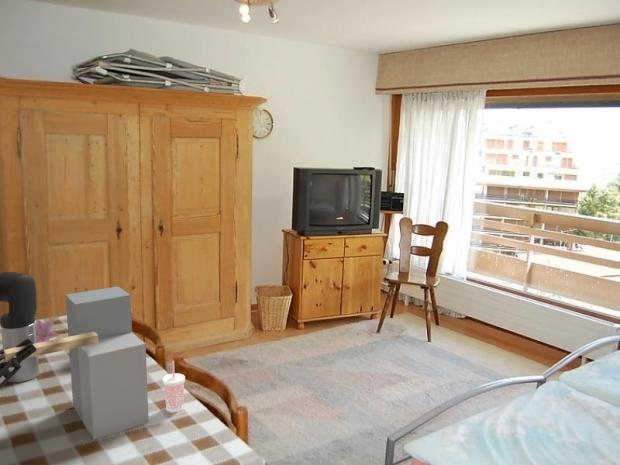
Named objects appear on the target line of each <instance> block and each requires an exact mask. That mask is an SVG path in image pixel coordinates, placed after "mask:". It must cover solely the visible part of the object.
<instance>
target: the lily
mask: <svg viewBox="0 0 620 465" xmlns="http://www.w3.org/2000/svg"><path fill="white" fill-rule="evenodd" d="M54 322H55V317H51V318H50V319H48V320H46V321H45V322H42V321H41V319H39V318H37V319H36V320H35V330H36V342H37V343H40V342H45V341H50V339H51V340H52V339H53V338H56V337H58V336H59V333H57V332H56V331H54V330H52V327H53V325H54Z"/></svg>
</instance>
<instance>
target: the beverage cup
mask: <svg viewBox="0 0 620 465" xmlns="http://www.w3.org/2000/svg"><path fill="white" fill-rule="evenodd" d="M185 382H186V376H185V375H184V374H182V373H177V372H175V360H172V373H169V374H166V375H164V376H163V377H162V384H163V390H164V391H163V392H164V397H165V398H164V399H165V408H166V411H167V412H168V411H169V412H168V413H177V412H180V410H181V411H183V408H184V400H185V398H184V396H185V393H184V391H185Z"/></svg>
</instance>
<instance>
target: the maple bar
mask: <svg viewBox="0 0 620 465" xmlns="http://www.w3.org/2000/svg"><path fill="white" fill-rule="evenodd" d="M96 343H98V335H97V334H96V333H95V332H90V333H85V334H80V335H75V336H70V337H68V336H66V337H61V338H56V339H51V340H50V339H49V341H45V342H40V343H35V344H33V345H34V346H35V348H36V351H35V352H34V353H33V354H31V355H30V356H29V357H27V358H30V357H35V356H38V357H39V356H45V355H49V354H53V353H58V352H63V351H67V350H68V351H69V349H72V348H77V347H82V346H87V345H91V344H96ZM25 346H26V345H25ZM25 346H20V347H15V348H10V349H5V350H4V355H5V359H6V360H7V359H8V358H10V357H11V356H13V355H14V354H16V353H17V352H18V351H20V350H21V349H22V348H24V347H25ZM16 355H17V354H16Z"/></svg>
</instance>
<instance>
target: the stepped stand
mask: <svg viewBox="0 0 620 465" xmlns="http://www.w3.org/2000/svg"><path fill="white" fill-rule="evenodd" d="M131 297H132V296H131V294H129V292H126V291H125V290H124V289H122V288H121V287H119V286H113V287H112V286H111V287H107V288H99V289H94V290H92V289H91V290H87V291H79V292H74V293H68V294H67V293H66V294H65V305H66V306H65V307H66V309H65V310H66V320H67V321H66V322H67V323H66V324H67V335H68V336H67V337H70V336H75V335H80V334H85V333H90V332H95V333H96V334H97V335H98V343H96V344H91V345H87V346H82V347H77V348H72V349H68V351H69V366H70V368H69V369H70V379H71V380H70V381H71V395H72V407H73V409H74V410H75V413H76V414H77V415H78V417H79V419H80V420H81V422H82V423H83V425H84V426H85V428H86V430H87V431H88V432H89V434H90V436H91V437H92V439H93V440H98V439H100V438H104V437H107V436H110V435H114V434H115V433H118V432H119V433H120V432H122V431H125V430H128V429H132V428H134V427H138V426H141V425H143V424H148V423H149V422H150V421H149V398H148V395H149V394H148V375H147V374H148V372H147V349H146V347H147V346H146V343H145V342H144V341H143V340H142V339H141V338H140V337H138V335H136V334H135V333H134V332H133V326H132V325H133V322H132V301H131V300H132V299H131Z"/></svg>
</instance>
